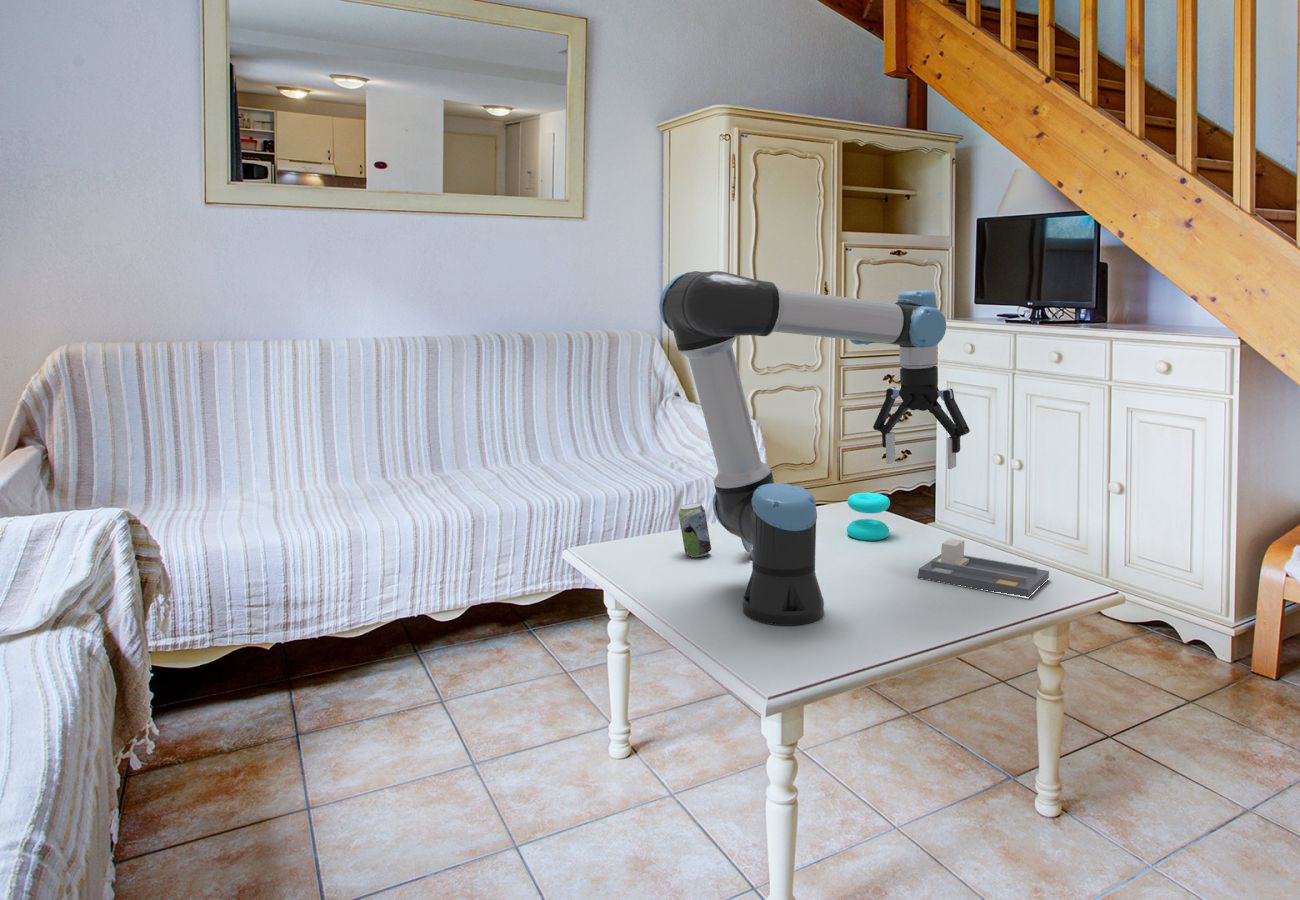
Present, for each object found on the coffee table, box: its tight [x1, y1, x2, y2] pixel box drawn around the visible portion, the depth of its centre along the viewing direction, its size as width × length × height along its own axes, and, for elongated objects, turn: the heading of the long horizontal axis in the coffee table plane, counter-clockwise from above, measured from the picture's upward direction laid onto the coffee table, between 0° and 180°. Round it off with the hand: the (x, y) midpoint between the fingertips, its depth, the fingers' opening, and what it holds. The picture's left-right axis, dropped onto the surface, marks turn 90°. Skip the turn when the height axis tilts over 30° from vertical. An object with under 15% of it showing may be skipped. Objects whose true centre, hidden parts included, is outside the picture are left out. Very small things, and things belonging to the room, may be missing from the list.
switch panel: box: [917, 553, 1050, 597], centre depth 185 cm, size 14×22×3 cm, turn 51°
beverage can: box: [678, 502, 712, 558], centre depth 204 cm, size 6×7×12 cm
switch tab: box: [937, 537, 969, 566], centre depth 189 cm, size 6×5×5 cm
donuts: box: [846, 492, 891, 542], centre depth 217 cm, size 10×10×10 cm
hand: (920, 465), depth 191 cm, fingers open, 13 cm apart
